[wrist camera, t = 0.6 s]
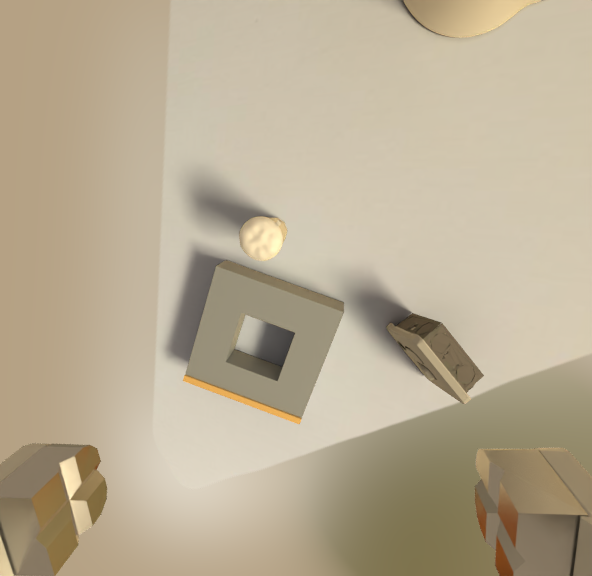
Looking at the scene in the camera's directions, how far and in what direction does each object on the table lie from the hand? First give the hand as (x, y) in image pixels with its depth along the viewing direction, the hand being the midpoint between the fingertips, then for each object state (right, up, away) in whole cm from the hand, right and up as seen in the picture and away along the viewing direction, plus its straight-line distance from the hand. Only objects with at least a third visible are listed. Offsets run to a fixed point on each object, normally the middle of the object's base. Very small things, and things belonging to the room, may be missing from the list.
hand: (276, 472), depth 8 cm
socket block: (-4, -3, +42) cm, 42 cm away
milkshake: (-2, +11, +39) cm, 40 cm away
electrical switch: (+16, -3, +40) cm, 43 cm away
